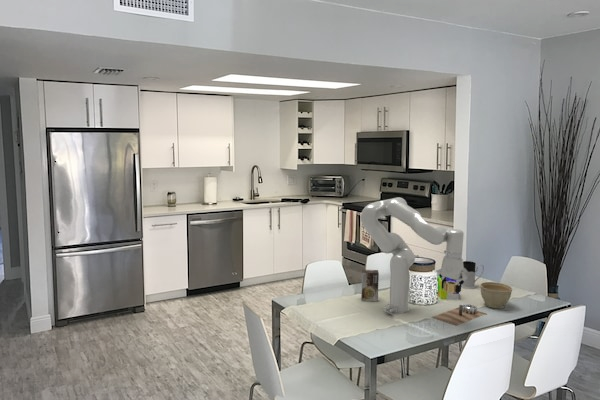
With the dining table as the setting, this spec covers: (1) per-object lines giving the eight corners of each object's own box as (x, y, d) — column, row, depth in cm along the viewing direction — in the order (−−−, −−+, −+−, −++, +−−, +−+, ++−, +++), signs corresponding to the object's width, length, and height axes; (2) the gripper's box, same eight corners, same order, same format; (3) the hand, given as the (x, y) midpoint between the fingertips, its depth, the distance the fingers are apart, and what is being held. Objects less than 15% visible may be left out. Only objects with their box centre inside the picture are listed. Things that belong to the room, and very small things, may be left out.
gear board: (455, 328, 241) (456, 315, 240) (431, 320, 252) (431, 307, 251) (486, 316, 258) (487, 304, 257) (462, 308, 269) (462, 296, 268)
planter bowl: (482, 310, 268) (483, 290, 266) (476, 300, 284) (477, 281, 282) (514, 312, 266) (516, 292, 264) (506, 301, 281) (507, 282, 280)
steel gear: (471, 314, 255) (472, 309, 255) (459, 310, 261) (459, 305, 261) (479, 311, 260) (480, 306, 260) (467, 307, 266) (467, 302, 265)
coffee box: (377, 297, 284) (378, 269, 282) (378, 301, 278) (379, 273, 276) (361, 297, 285) (362, 269, 283) (361, 300, 279) (362, 272, 276)
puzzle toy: (458, 299, 284) (459, 282, 283) (440, 299, 284) (441, 281, 283) (453, 293, 294) (454, 277, 293) (436, 293, 294) (437, 276, 293)
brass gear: (452, 294, 243) (453, 286, 242) (440, 290, 248) (440, 282, 248) (461, 291, 248) (462, 283, 247) (448, 287, 253) (449, 279, 253)
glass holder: (457, 284, 311) (458, 261, 309) (478, 284, 314) (480, 260, 312) (464, 289, 303) (466, 264, 301) (486, 288, 305) (487, 264, 303)
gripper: (434, 252, 250) (431, 286, 252) (465, 260, 236) (462, 296, 239) (443, 250, 254) (440, 284, 257) (474, 257, 241) (471, 293, 244)
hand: (450, 290), depth 248 cm, fingers closed on brass gear, 7 cm apart
